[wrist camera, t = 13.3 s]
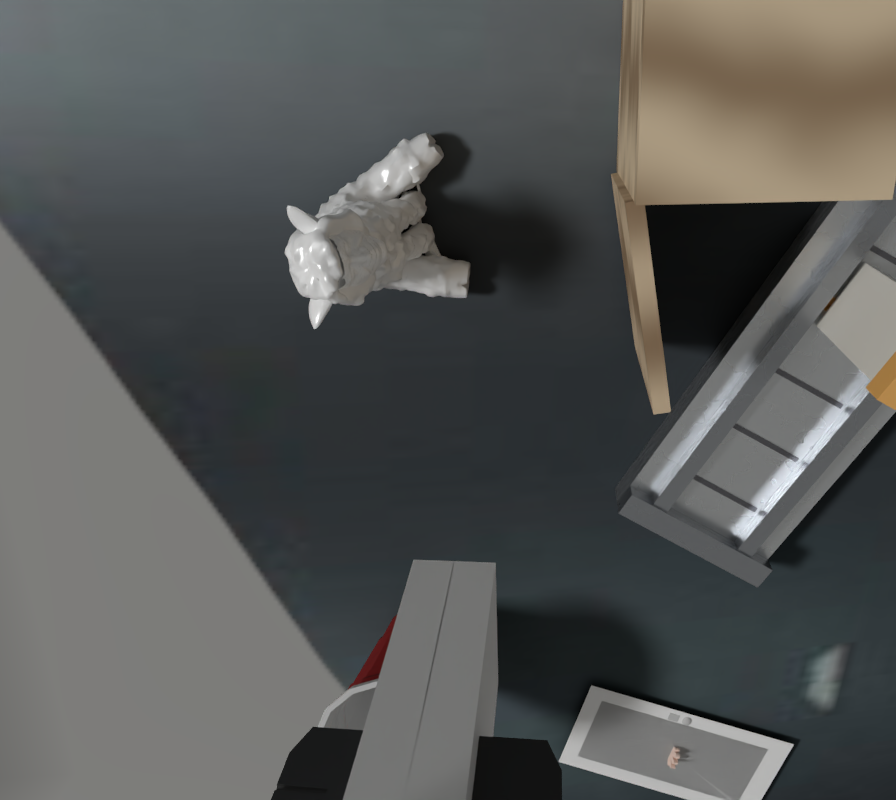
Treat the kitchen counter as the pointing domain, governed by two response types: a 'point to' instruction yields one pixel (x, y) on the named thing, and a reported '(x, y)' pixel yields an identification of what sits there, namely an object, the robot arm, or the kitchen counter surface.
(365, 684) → the plastic cup
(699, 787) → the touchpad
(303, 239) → the sitting furry creature
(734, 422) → the fader track
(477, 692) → the robot arm
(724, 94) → the wooden cabinet
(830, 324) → the fader knob
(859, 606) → the kitchen counter surface
